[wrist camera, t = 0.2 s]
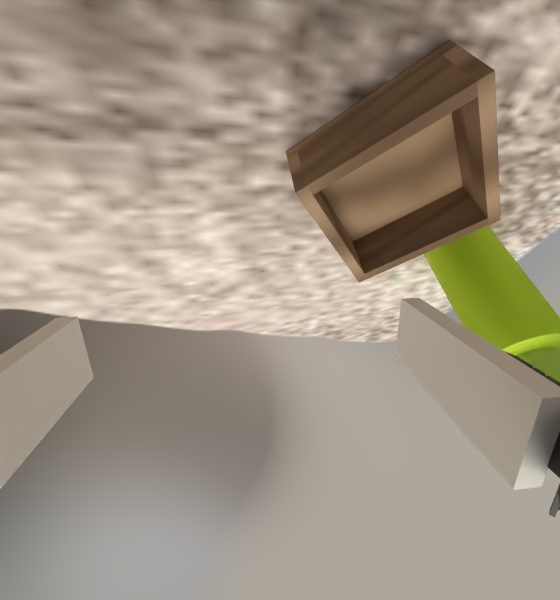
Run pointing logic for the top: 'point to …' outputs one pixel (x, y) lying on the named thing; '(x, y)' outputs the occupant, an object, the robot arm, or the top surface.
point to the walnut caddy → (405, 164)
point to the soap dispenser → (498, 299)
